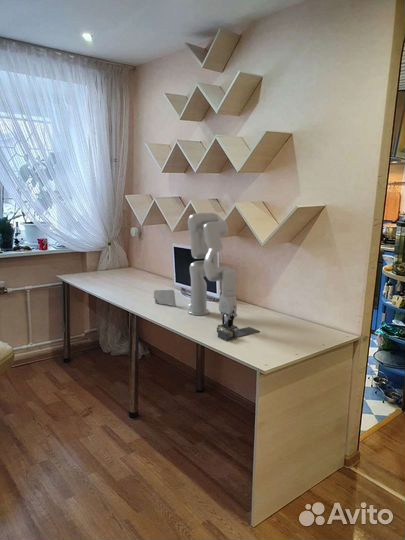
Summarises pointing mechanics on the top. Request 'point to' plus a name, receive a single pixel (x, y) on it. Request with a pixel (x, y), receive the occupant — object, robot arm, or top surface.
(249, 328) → the mat
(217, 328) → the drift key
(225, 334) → the socket block
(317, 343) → the top surface
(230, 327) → the socket collar
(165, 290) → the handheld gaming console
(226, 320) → the peg
